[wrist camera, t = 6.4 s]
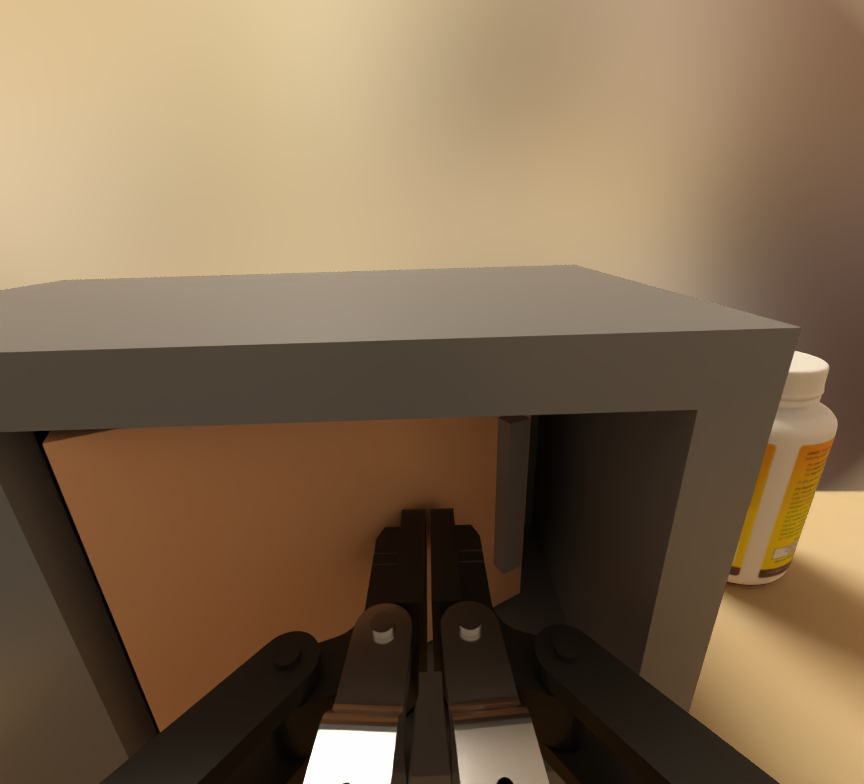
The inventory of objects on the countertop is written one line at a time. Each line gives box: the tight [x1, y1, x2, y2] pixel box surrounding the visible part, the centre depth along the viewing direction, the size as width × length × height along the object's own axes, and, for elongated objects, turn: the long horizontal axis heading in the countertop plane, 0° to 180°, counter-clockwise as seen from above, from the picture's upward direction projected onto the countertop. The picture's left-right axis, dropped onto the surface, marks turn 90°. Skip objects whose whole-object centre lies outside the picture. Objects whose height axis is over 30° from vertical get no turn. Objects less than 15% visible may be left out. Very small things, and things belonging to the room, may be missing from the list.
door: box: [42, 415, 531, 732], centre depth 13 cm, size 12×2×10 cm, turn 120°
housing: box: [0, 265, 801, 784], centre depth 15 cm, size 23×12×14 cm, turn 91°
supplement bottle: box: [727, 351, 837, 585], centre depth 20 cm, size 6×6×10 cm
